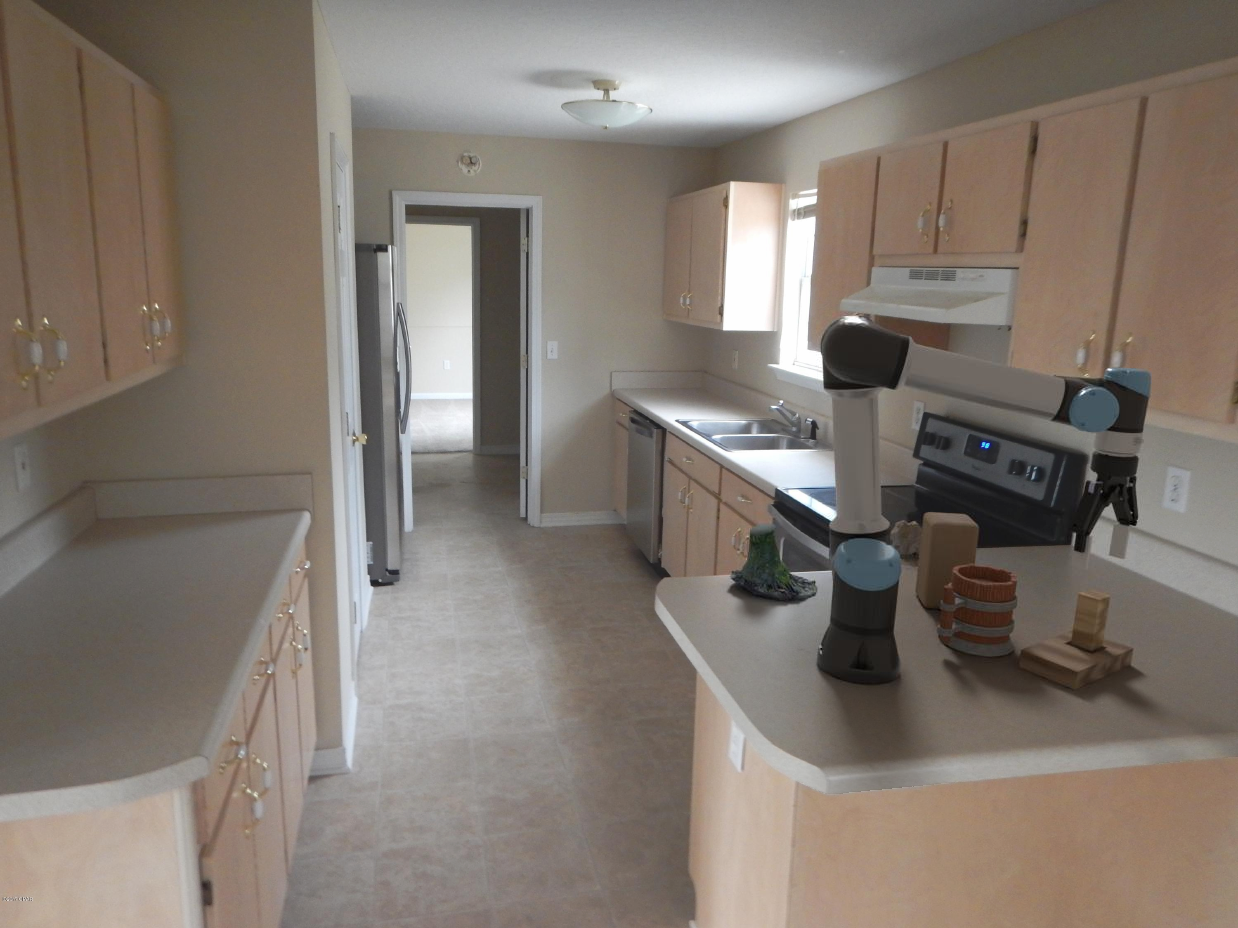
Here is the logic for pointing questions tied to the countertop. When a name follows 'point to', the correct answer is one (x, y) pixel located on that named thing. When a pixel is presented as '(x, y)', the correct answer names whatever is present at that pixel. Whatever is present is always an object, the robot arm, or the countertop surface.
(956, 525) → the wooden block
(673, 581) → the countertop surface
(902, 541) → the rock
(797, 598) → the tree stump
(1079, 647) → the peg
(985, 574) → the mug
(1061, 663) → the board
